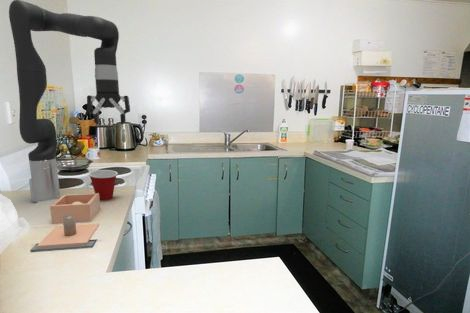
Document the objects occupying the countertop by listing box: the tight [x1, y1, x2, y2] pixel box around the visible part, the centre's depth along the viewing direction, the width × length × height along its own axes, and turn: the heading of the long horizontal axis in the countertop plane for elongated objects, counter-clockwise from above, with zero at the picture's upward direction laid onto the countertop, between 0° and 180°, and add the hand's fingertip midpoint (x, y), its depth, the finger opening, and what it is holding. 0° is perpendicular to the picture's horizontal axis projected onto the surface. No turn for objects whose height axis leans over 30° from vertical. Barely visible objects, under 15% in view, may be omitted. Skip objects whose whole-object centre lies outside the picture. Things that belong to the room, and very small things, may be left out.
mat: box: [30, 239, 98, 253], centre depth 90 cm, size 16×14×1 cm
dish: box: [49, 192, 101, 225], centre depth 105 cm, size 12×12×7 cm
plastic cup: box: [88, 169, 118, 202], centre depth 123 cm, size 11×11×12 cm
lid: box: [37, 215, 100, 249], centre depth 90 cm, size 13×13×6 cm
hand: (110, 124), depth 110 cm, fingers open, 8 cm apart
